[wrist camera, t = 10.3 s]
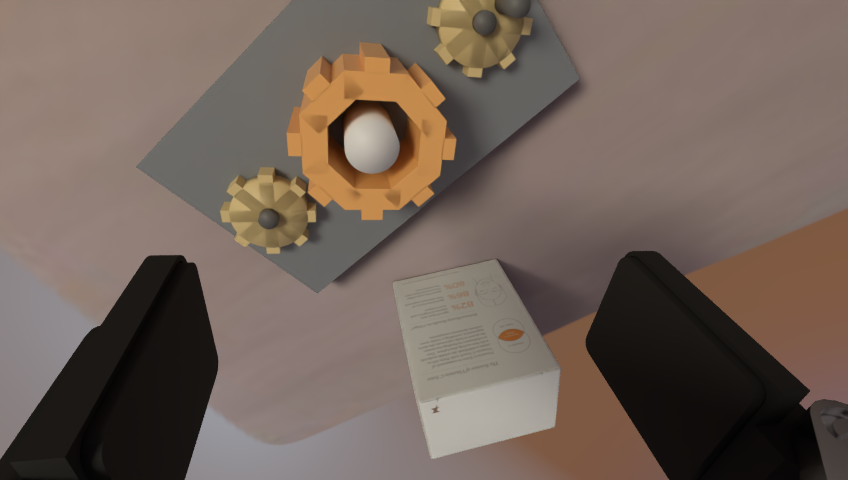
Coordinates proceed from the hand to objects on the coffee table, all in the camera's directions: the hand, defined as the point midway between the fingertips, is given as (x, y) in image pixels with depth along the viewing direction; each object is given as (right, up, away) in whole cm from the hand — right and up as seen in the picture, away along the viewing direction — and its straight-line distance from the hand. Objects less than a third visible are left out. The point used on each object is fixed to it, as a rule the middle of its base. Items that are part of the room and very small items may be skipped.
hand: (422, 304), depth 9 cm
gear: (-3, +8, +12) cm, 15 cm away
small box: (+2, -3, +23) cm, 23 cm away
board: (-3, +9, +14) cm, 17 cm away
